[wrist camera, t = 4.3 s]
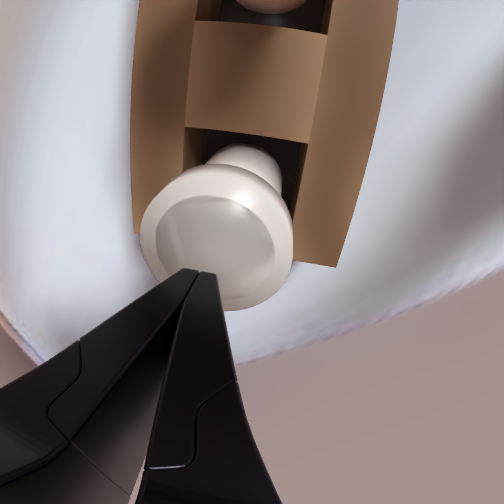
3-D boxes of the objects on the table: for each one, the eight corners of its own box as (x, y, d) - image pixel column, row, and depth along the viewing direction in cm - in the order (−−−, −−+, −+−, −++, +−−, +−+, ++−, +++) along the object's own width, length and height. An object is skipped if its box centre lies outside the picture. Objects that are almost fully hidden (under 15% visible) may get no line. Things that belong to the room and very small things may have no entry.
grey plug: (301, 141, 13) (308, 192, 8) (283, 232, 15) (277, 321, 10) (197, 126, 13) (136, 168, 8) (192, 217, 15) (145, 295, 10)
